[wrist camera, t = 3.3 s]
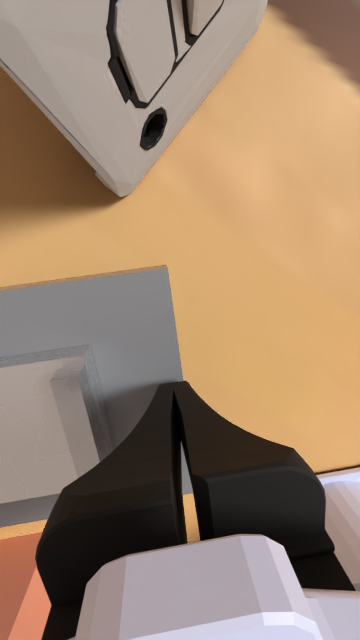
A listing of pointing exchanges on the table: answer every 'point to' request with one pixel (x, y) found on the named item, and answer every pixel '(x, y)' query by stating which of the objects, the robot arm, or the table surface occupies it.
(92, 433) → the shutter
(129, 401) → the socket plate
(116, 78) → the electrical switch
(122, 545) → the robot arm
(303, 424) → the table surface
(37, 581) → the plug
